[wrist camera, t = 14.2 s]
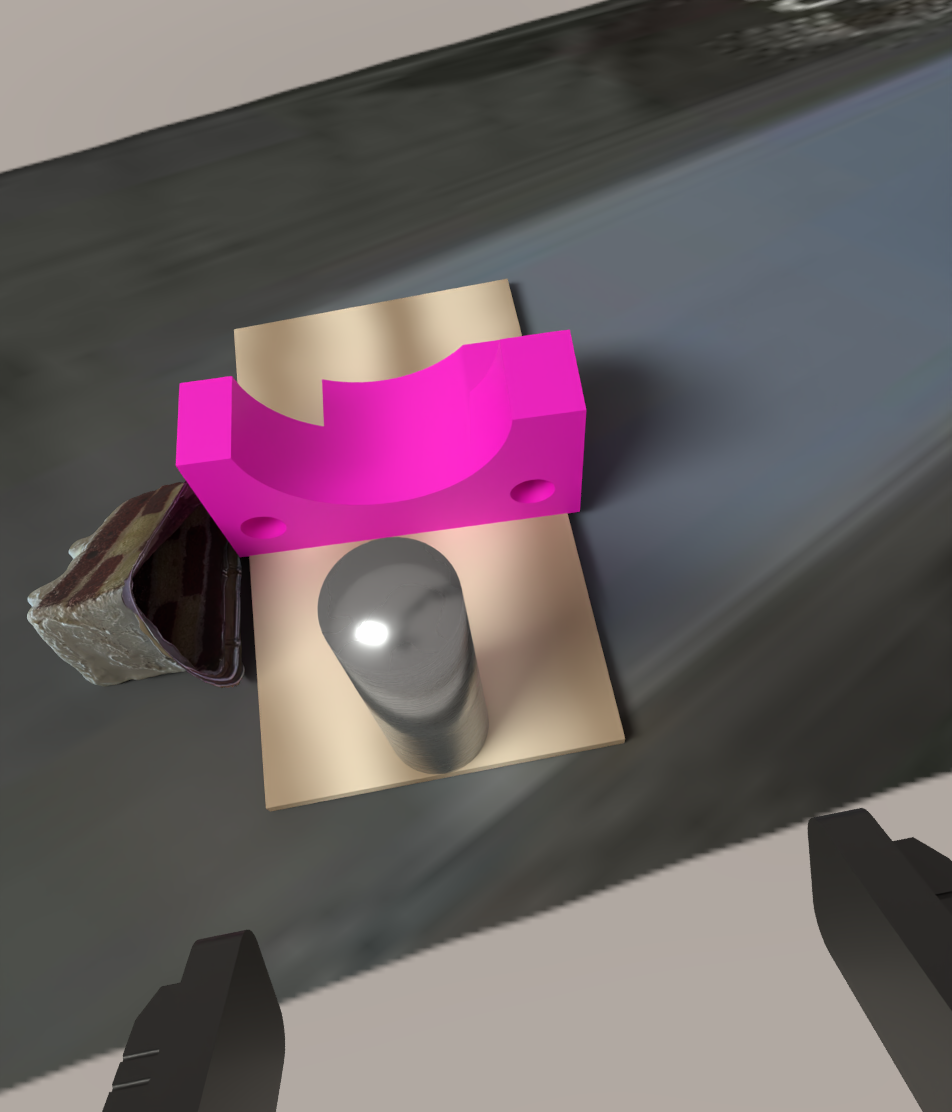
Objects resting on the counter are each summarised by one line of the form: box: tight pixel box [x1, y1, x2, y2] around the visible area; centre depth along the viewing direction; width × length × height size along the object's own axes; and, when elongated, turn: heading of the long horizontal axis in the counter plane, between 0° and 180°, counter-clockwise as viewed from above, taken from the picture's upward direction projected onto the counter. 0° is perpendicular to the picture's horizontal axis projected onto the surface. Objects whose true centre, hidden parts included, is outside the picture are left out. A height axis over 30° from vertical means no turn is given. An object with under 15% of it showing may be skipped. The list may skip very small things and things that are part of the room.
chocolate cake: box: [27, 481, 245, 688], centre depth 38 cm, size 10×7×12 cm
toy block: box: [176, 330, 586, 557], centre depth 37 cm, size 15×6×8 cm, turn 97°
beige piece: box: [234, 279, 625, 811], centre depth 35 cm, size 14×24×13 cm, turn 10°
